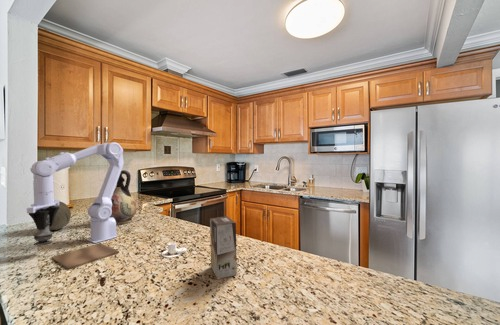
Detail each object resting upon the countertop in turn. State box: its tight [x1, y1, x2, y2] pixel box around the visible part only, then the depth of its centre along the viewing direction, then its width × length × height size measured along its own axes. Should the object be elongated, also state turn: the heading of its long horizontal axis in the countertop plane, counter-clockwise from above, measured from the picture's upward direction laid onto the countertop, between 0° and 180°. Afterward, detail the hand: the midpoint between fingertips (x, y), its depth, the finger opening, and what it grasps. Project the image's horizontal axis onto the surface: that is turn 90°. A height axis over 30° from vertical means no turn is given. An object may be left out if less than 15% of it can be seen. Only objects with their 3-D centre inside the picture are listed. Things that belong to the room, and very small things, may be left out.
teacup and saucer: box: [161, 241, 187, 258], centre depth 87 cm, size 9×8×4 cm
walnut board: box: [51, 242, 120, 271], centre depth 86 cm, size 16×16×1 cm
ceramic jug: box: [109, 169, 137, 225], centre depth 131 cm, size 17×15×30 cm
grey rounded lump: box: [49, 200, 72, 231], centre depth 118 cm, size 14×14×15 cm
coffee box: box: [209, 216, 238, 280], centre depth 73 cm, size 9×6×16 cm
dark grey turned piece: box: [32, 215, 54, 247], centre depth 87 cm, size 6×6×12 cm
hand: (45, 227), depth 88 cm, fingers closed on dark grey turned piece, 3 cm apart
